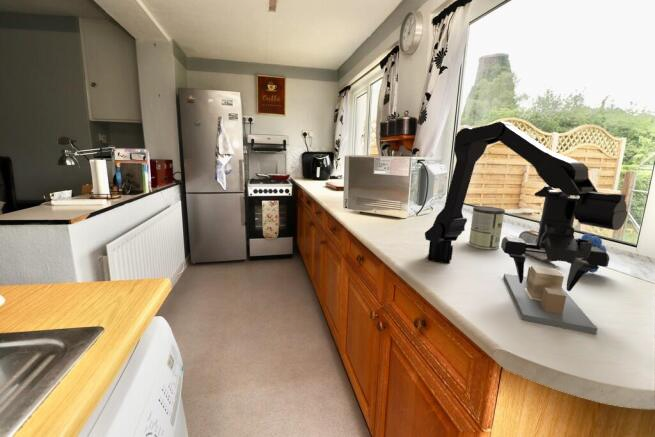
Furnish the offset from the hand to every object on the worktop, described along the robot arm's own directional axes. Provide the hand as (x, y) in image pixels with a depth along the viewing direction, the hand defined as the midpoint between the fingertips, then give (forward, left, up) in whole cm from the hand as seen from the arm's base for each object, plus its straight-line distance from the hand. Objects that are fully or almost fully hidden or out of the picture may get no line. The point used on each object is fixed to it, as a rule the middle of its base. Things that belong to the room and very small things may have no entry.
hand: (543, 286), depth 70 cm
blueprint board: (0, 0, -4) cm, 4 cm away
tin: (+7, +38, -4) cm, 39 cm away
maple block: (0, 0, -2) cm, 2 cm away
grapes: (+17, +26, -4) cm, 31 cm away
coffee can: (-8, +45, -4) cm, 46 cm away
